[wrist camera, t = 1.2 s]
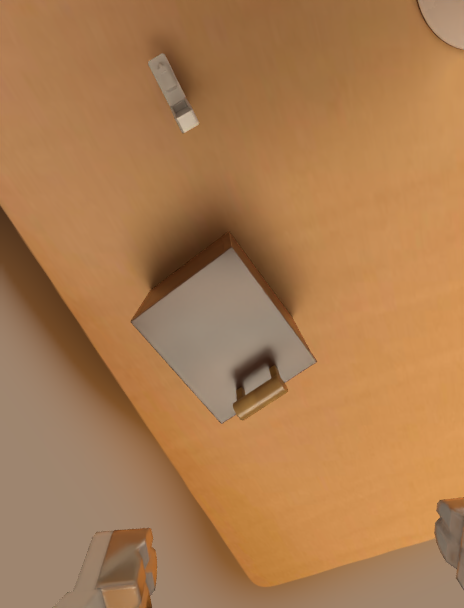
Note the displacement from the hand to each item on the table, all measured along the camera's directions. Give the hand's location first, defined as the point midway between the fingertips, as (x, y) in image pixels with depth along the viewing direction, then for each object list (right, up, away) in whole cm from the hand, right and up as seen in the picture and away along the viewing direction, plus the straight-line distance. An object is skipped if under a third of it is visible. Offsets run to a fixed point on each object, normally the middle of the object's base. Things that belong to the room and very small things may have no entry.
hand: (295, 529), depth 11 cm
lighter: (-7, +27, +29) cm, 40 cm away
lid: (-2, +3, +26) cm, 26 cm away
